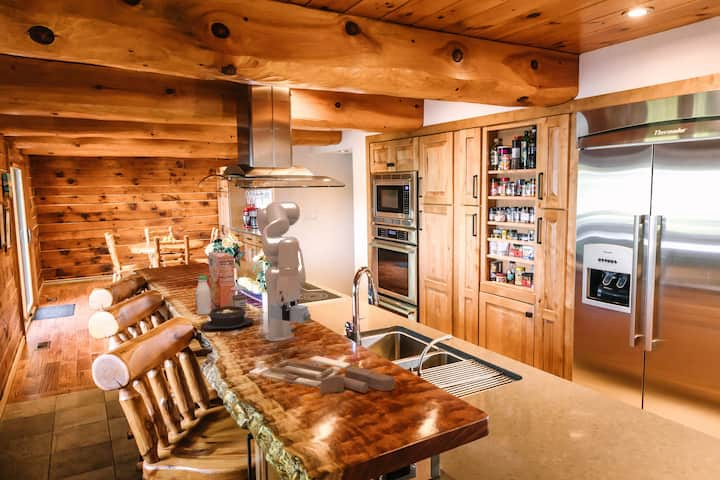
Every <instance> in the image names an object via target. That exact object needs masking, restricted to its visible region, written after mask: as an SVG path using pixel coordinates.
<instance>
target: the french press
mask: <svg viewBox="0 0 720 480" xmlns="http://www.w3.org/2000/svg"><path fill="white" fill-rule="evenodd" d="M240 269H241V268H240V267H239V266H238V267H236V268H235V270H237V271H239V270H240ZM231 290H232V291H235V292H237V293H238V294H235V295H233V293H232V298H233V299H231V305H230V306H237V307H242V308H243V309H244V311H245V312H246V314H245V315H244V317H247V316H248V315H250V313H249V312H248V311H247V307H248V306H247V298H246V295H245V294H240V292H239V291H245V290H247V287H246V286H245V285H244V286H243V285H239V282H237V285H235V286H234V287H232V288H231ZM230 295H231V294H230ZM229 298H230V296H229ZM233 301H235V302H233ZM229 304H230V301H229ZM234 304H235V305H234Z"/></svg>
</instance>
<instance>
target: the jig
mask: <svg viewBox="0 0 720 480" xmlns="http://www.w3.org/2000/svg"><path fill="white" fill-rule="evenodd" d="M341 371H342V370H341V369H340V368H333V367H328V366H322V365H321V366H320V363H318V362H313V361H308V362H307V363H305V362H301V361H300V362H299V361H293V360H289V359H285V360H283V361H281V362H279V363H277V364H275V365H273V366H271V367H270V369H269V371H267V372H265V373H263V374H261V376H262V377H264V378H269V379H273V380H279V381H284V382H288V383H293V384H298V385H303V386H308V387H312V388H318V387H321V380H323V379H325V378H327V377H329V376H331V375H333V376H336V375H338V374H339V373H340V372H341Z"/></svg>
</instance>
